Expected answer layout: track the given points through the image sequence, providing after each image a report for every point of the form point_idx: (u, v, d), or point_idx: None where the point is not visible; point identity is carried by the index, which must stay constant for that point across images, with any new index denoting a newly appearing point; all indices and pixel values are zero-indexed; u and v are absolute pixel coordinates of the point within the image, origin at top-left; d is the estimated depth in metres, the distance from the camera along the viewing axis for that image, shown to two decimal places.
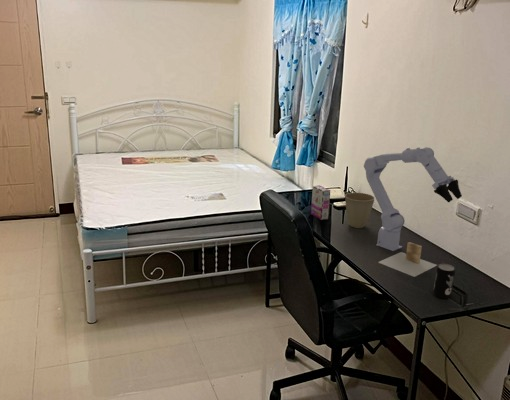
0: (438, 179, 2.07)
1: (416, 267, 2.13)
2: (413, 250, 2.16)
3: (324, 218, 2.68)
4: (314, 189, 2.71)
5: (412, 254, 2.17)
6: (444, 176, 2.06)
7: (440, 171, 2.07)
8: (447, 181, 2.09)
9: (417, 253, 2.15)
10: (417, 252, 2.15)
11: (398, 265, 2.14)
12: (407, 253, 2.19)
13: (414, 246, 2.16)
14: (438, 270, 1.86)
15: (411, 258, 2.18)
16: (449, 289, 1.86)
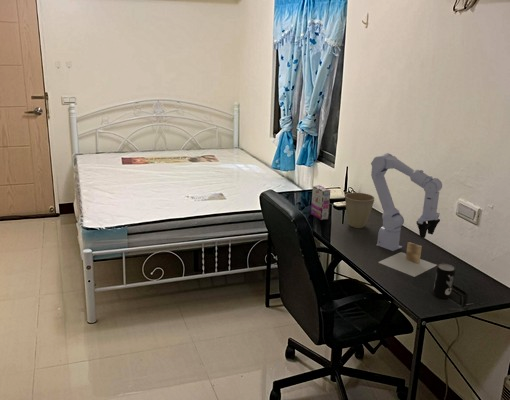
0: (426, 215, 2.16)
1: (416, 267, 2.13)
2: (413, 250, 2.16)
3: (324, 218, 2.68)
4: (314, 189, 2.71)
5: (412, 254, 2.17)
6: (433, 216, 2.16)
7: (433, 210, 2.15)
8: None
9: (417, 253, 2.15)
10: (417, 252, 2.15)
11: (398, 265, 2.14)
12: (407, 253, 2.19)
13: (414, 246, 2.16)
14: (438, 270, 1.86)
15: (411, 258, 2.18)
16: (449, 289, 1.86)
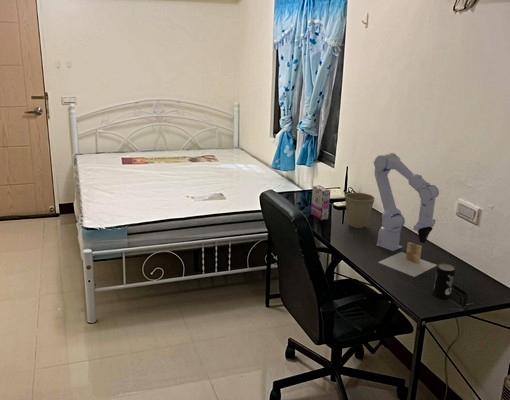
0: (422, 222, 2.15)
1: (416, 267, 2.13)
2: (413, 250, 2.16)
3: (324, 218, 2.68)
4: (314, 189, 2.71)
5: (412, 254, 2.17)
6: (429, 223, 2.15)
7: (429, 217, 2.14)
8: None
9: (417, 253, 2.15)
10: (417, 252, 2.15)
11: (398, 265, 2.14)
12: (407, 253, 2.19)
13: (414, 246, 2.16)
14: (438, 270, 1.86)
15: (411, 258, 2.18)
16: (449, 289, 1.86)
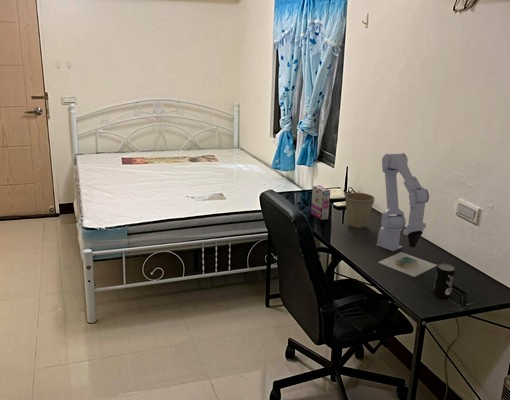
0: (412, 226, 2.10)
1: (416, 267, 2.13)
2: None
3: (324, 218, 2.68)
4: (314, 189, 2.71)
5: None
6: (419, 227, 2.10)
7: (419, 221, 2.09)
8: None
9: None
10: None
11: None
12: None
13: None
14: (438, 270, 1.86)
15: None
16: (449, 289, 1.86)
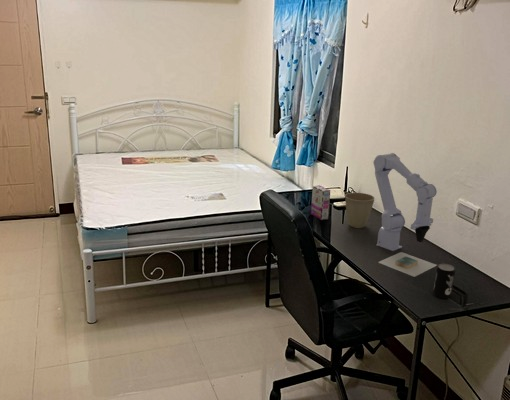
0: (420, 221, 2.15)
1: (416, 267, 2.13)
2: None
3: (324, 218, 2.68)
4: (314, 189, 2.71)
5: None
6: (426, 222, 2.14)
7: (426, 216, 2.13)
8: None
9: None
10: None
11: None
12: None
13: None
14: (438, 270, 1.86)
15: None
16: (449, 289, 1.86)
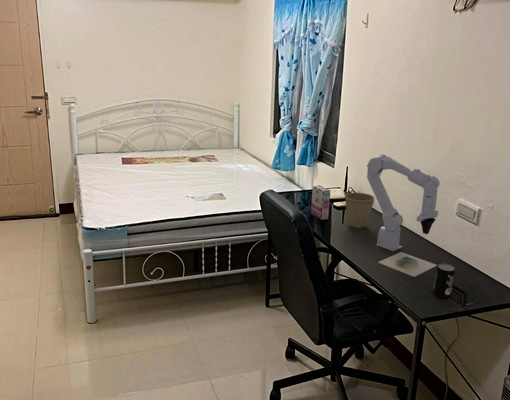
0: (425, 213, 2.19)
1: (416, 267, 2.13)
2: None
3: (324, 218, 2.68)
4: (314, 189, 2.71)
5: None
6: (431, 214, 2.18)
7: (432, 208, 2.17)
8: None
9: None
10: None
11: None
12: None
13: None
14: (438, 270, 1.86)
15: None
16: (449, 289, 1.86)
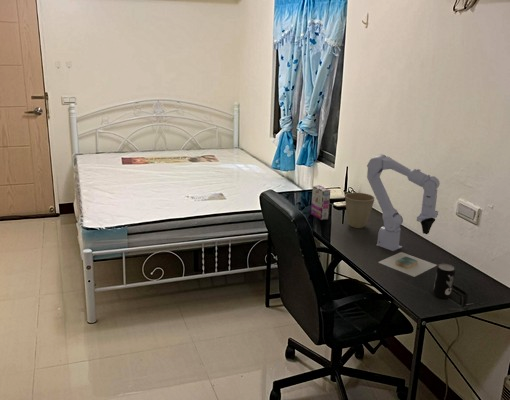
0: (425, 213, 2.19)
1: (416, 267, 2.13)
2: None
3: (324, 218, 2.68)
4: (314, 189, 2.71)
5: None
6: (431, 214, 2.18)
7: (432, 208, 2.17)
8: None
9: None
10: None
11: None
12: None
13: None
14: (438, 270, 1.86)
15: None
16: (449, 289, 1.86)
